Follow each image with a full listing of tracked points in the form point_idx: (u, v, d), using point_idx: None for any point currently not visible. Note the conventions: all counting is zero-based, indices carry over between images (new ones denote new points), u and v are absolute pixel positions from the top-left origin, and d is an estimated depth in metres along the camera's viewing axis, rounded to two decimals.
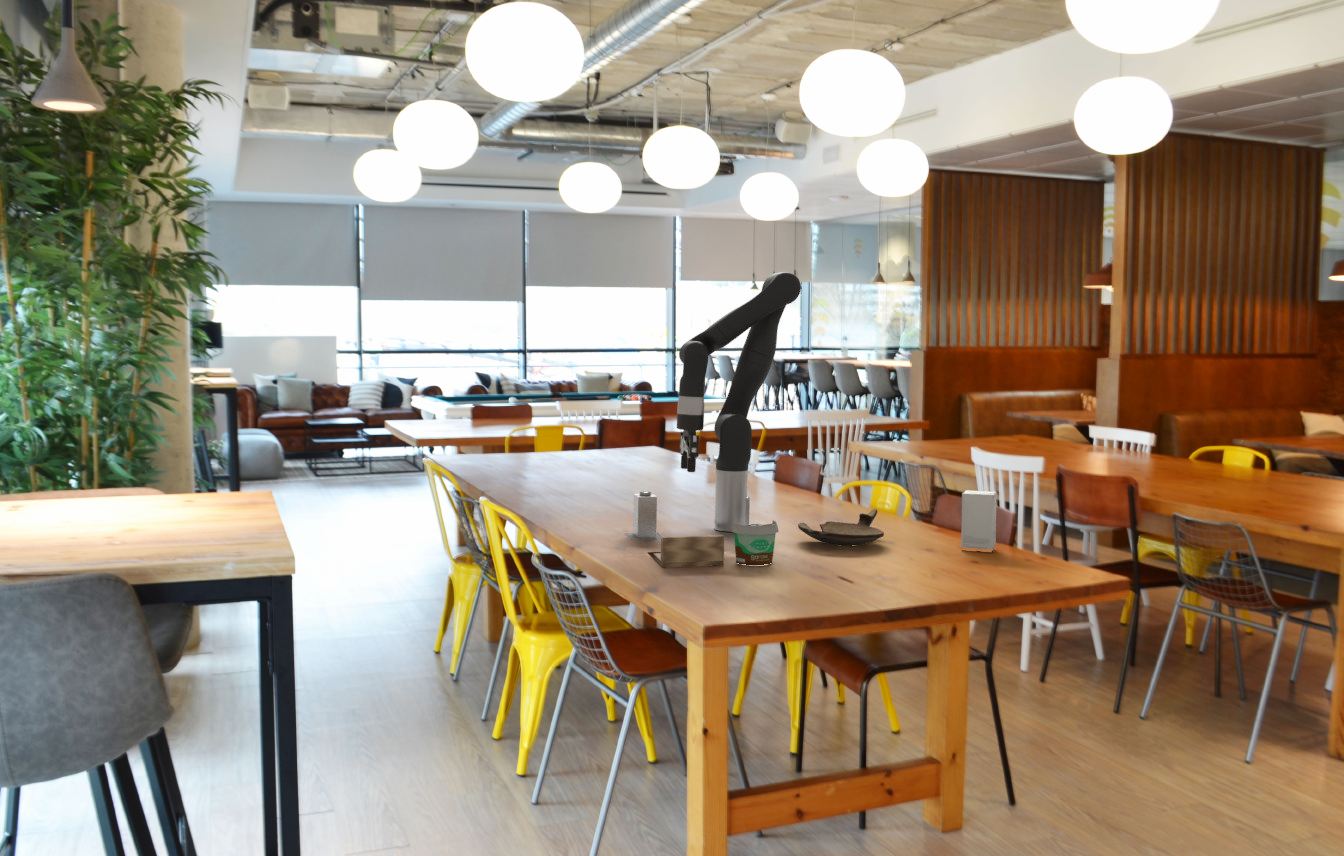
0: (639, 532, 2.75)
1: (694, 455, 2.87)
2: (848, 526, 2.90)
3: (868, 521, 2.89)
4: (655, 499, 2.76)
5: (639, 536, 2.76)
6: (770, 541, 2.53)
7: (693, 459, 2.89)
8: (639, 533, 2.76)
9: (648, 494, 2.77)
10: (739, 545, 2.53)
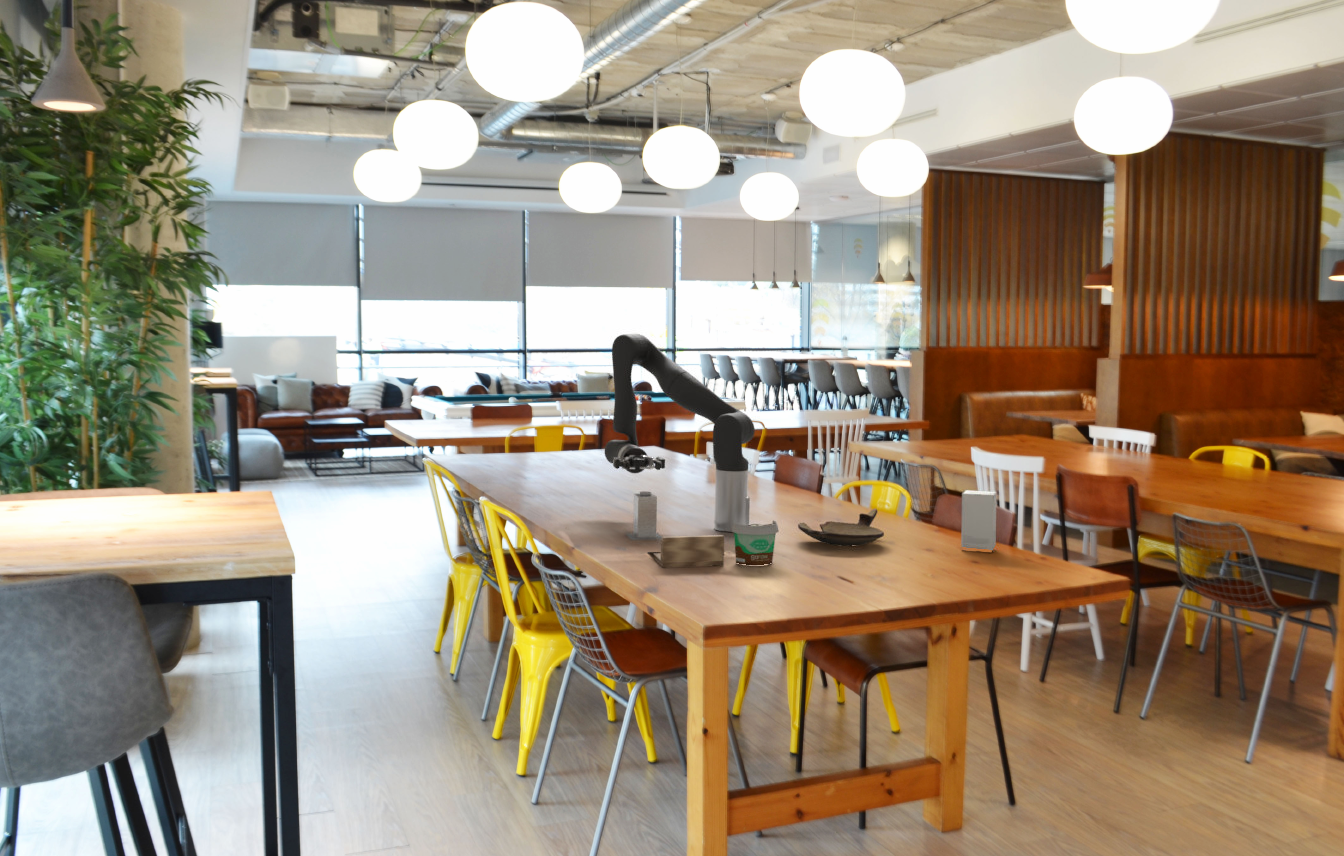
0: (639, 532, 2.75)
1: (615, 463, 2.91)
2: (848, 526, 2.90)
3: (868, 521, 2.89)
4: (655, 499, 2.76)
5: (639, 536, 2.76)
6: (770, 541, 2.53)
7: (622, 463, 2.90)
8: (639, 533, 2.76)
9: (648, 494, 2.77)
10: (739, 545, 2.53)
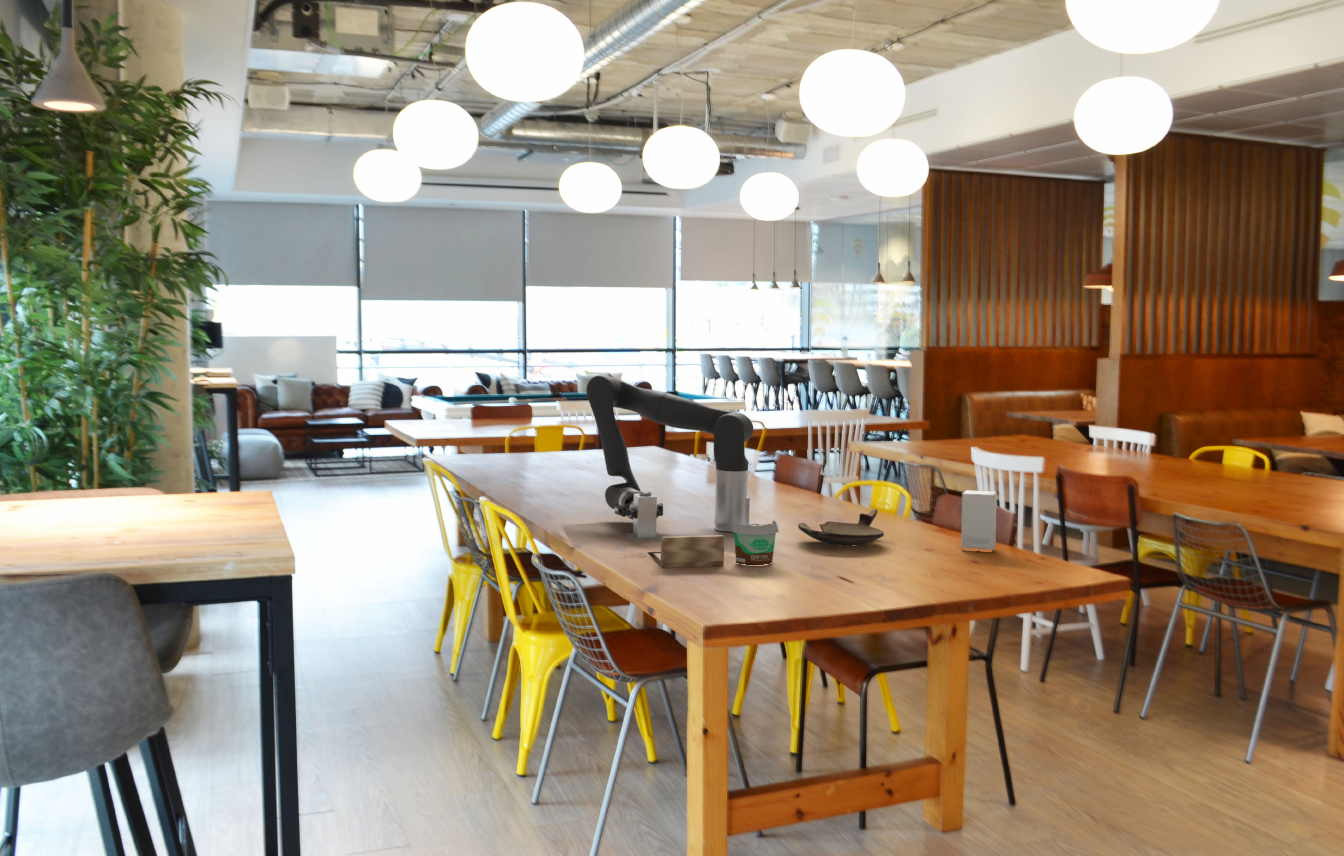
0: (639, 532, 2.75)
1: (622, 511, 2.80)
2: (848, 526, 2.90)
3: (868, 521, 2.89)
4: (655, 499, 2.76)
5: (639, 536, 2.76)
6: (770, 541, 2.53)
7: (629, 511, 2.79)
8: (639, 533, 2.76)
9: (648, 494, 2.77)
10: (739, 545, 2.53)
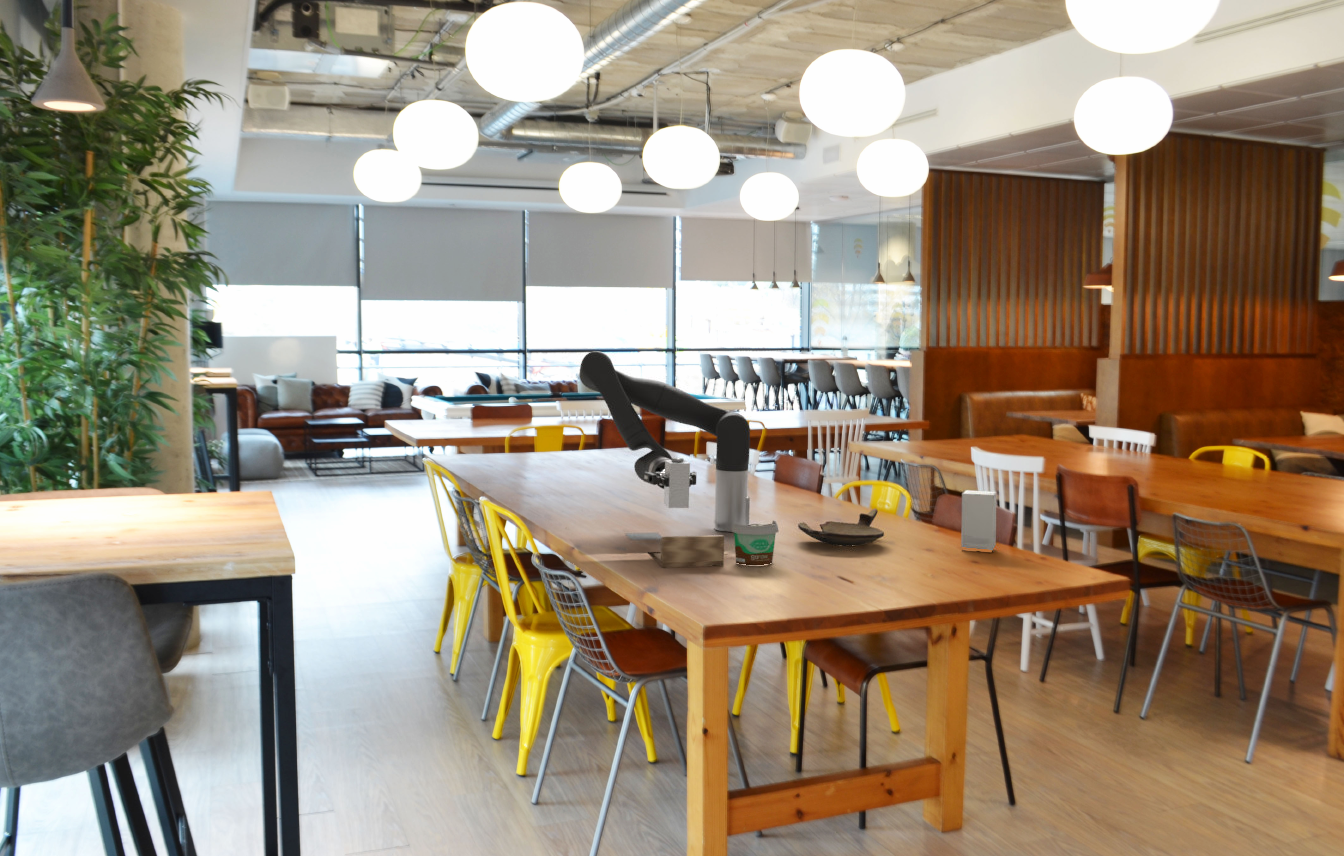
0: (670, 501, 2.56)
1: (652, 479, 2.61)
2: (848, 526, 2.90)
3: (868, 521, 2.89)
4: (688, 466, 2.56)
5: (670, 505, 2.56)
6: (770, 541, 2.53)
7: (660, 479, 2.60)
8: (670, 502, 2.56)
9: (680, 460, 2.57)
10: (739, 545, 2.53)
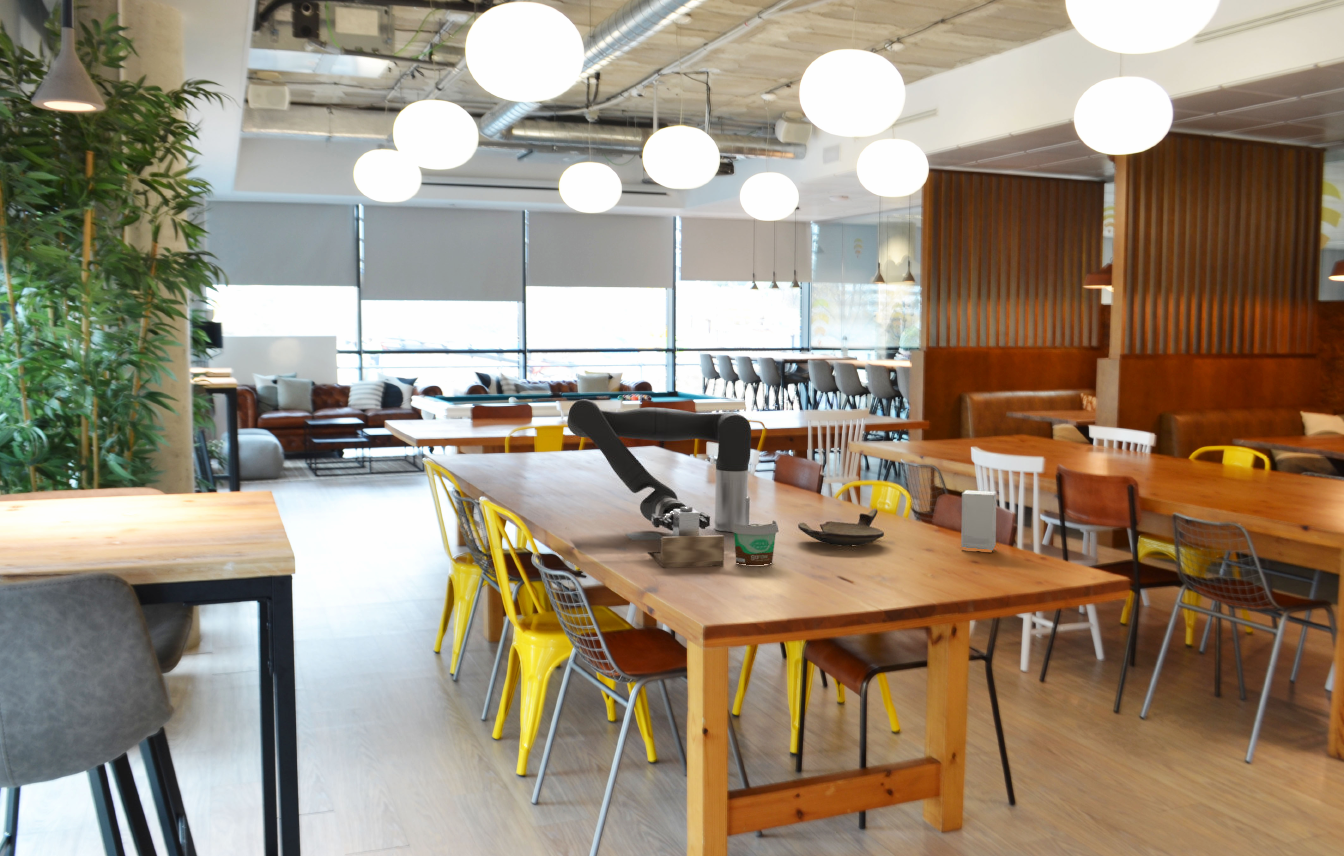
0: None
1: (655, 521, 2.59)
2: (848, 526, 2.90)
3: (868, 521, 2.89)
4: (697, 515, 2.54)
5: None
6: (770, 541, 2.53)
7: (662, 522, 2.58)
8: None
9: (689, 510, 2.55)
10: (739, 545, 2.53)
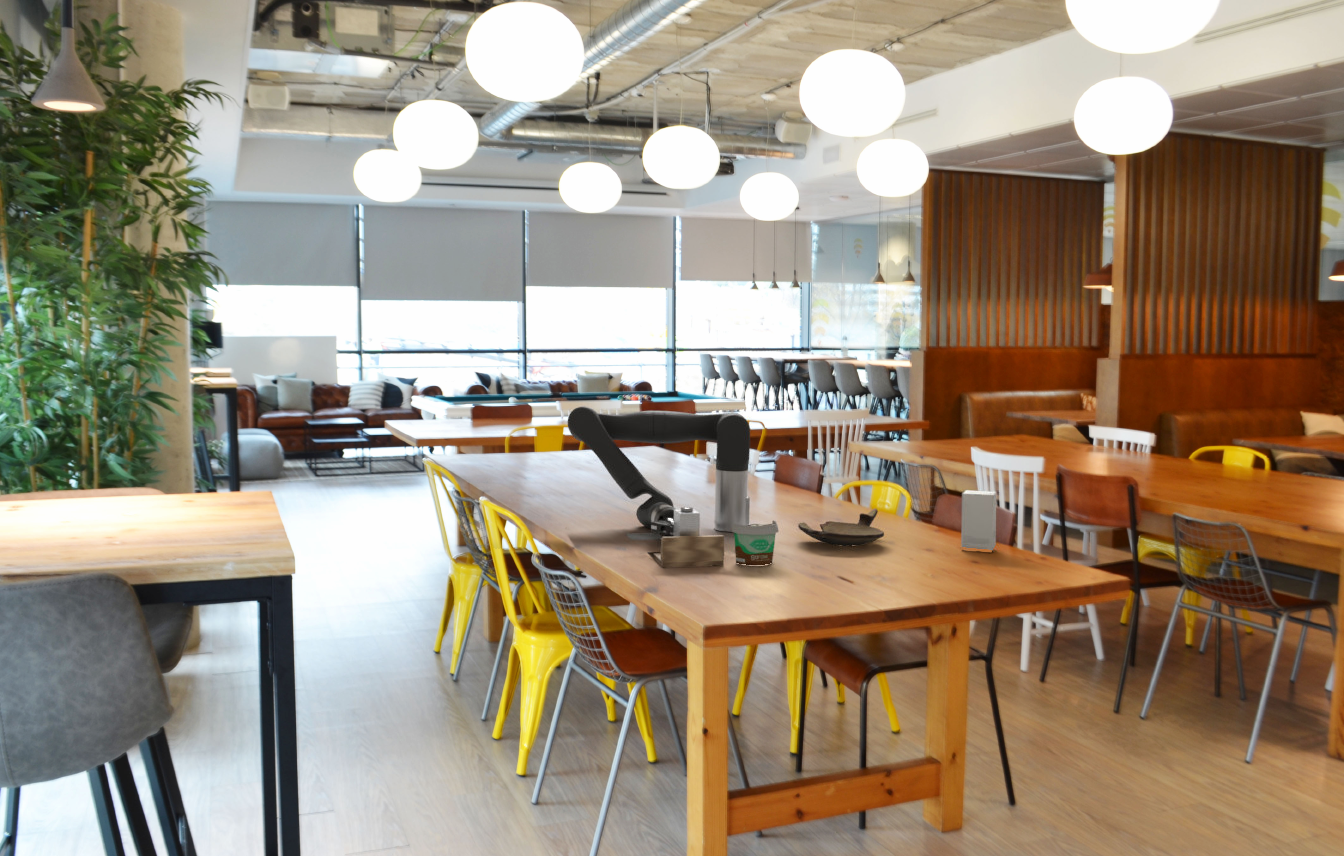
0: None
1: (666, 529, 2.63)
2: (848, 526, 2.90)
3: (868, 521, 2.89)
4: (698, 515, 2.54)
5: None
6: (770, 541, 2.53)
7: (673, 529, 2.63)
8: None
9: (690, 510, 2.55)
10: (739, 545, 2.53)
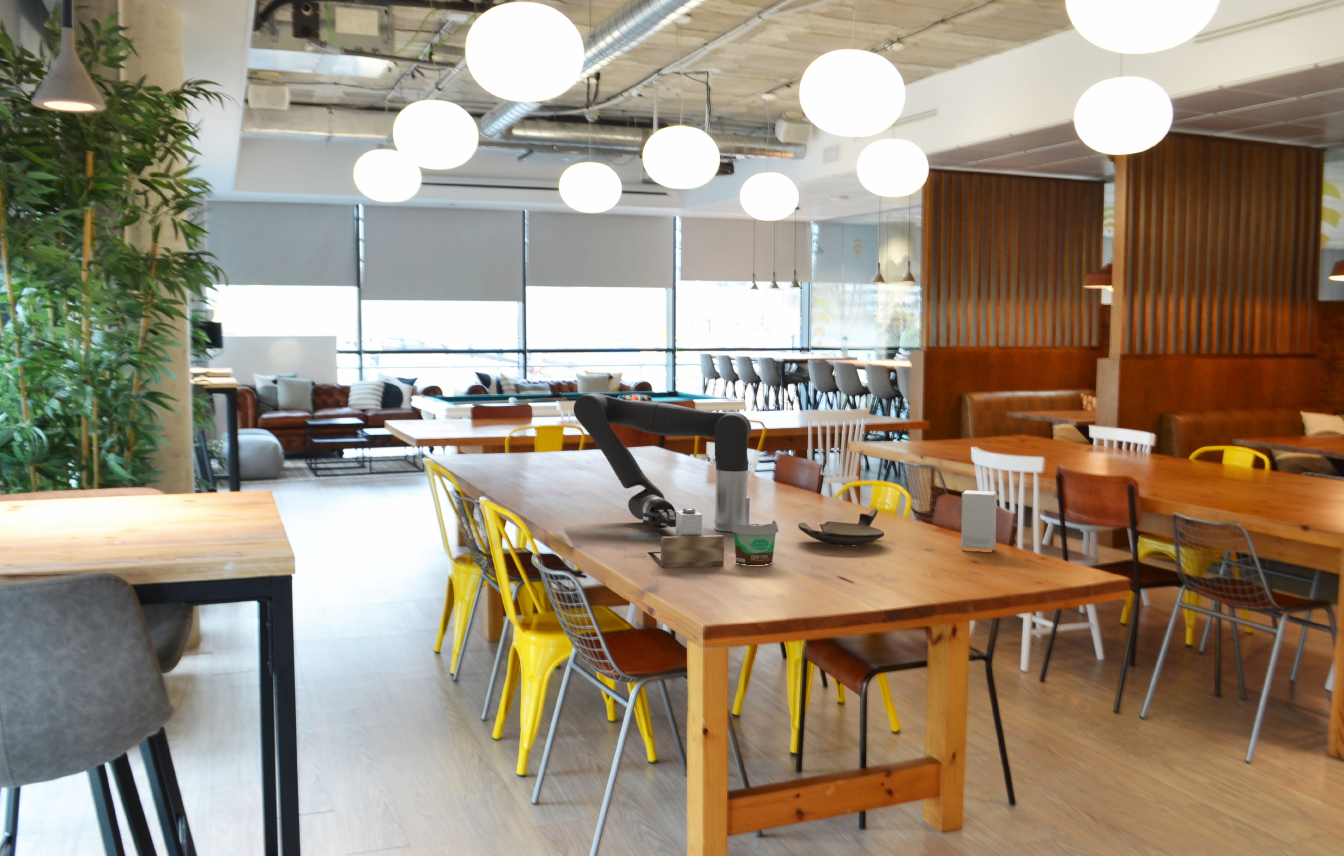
0: None
1: (657, 519, 2.75)
2: (848, 526, 2.90)
3: (868, 521, 2.89)
4: (700, 517, 2.52)
5: None
6: (770, 541, 2.53)
7: (664, 520, 2.74)
8: None
9: (692, 511, 2.53)
10: (739, 545, 2.53)
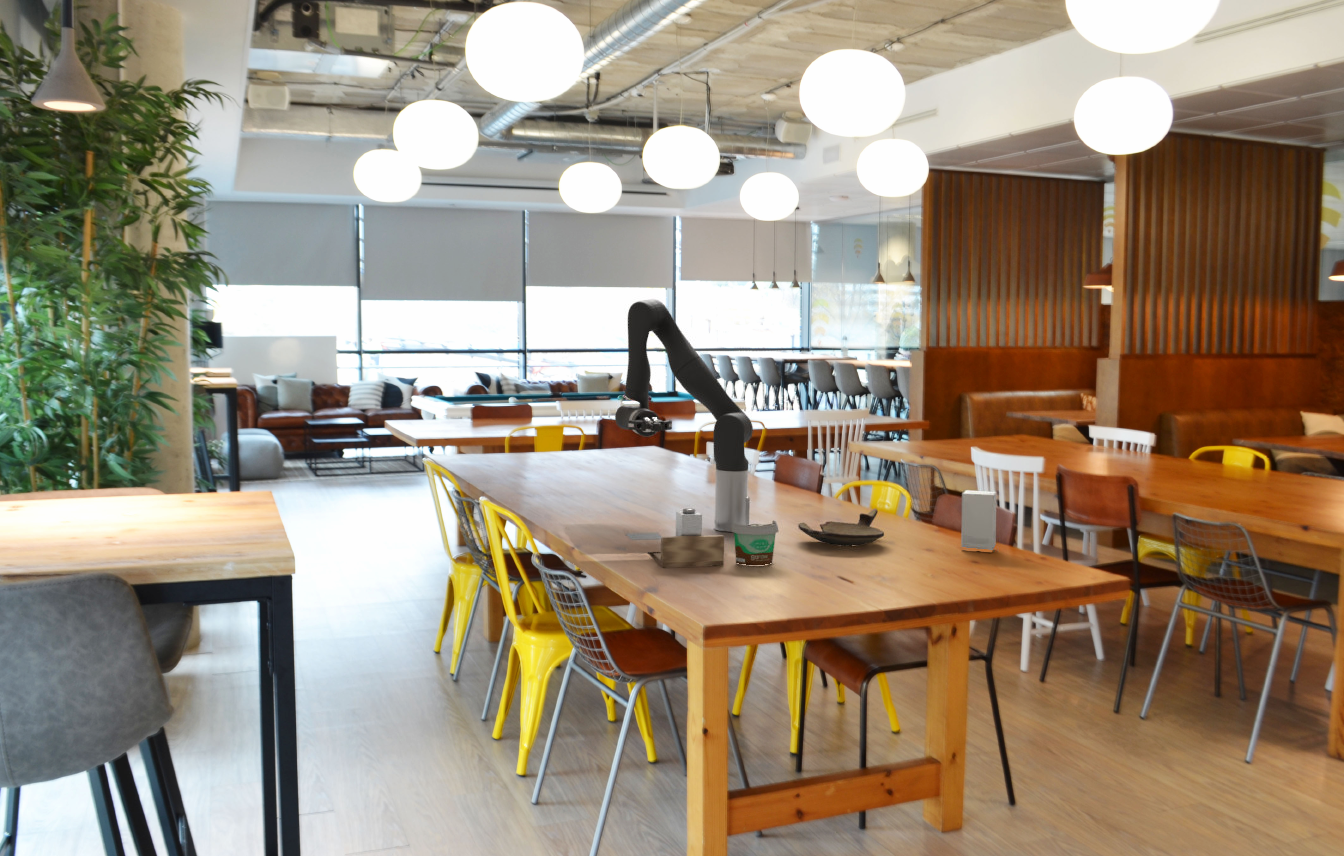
0: None
1: (642, 425, 2.86)
2: (848, 526, 2.90)
3: (868, 521, 2.89)
4: (700, 517, 2.52)
5: None
6: (770, 541, 2.53)
7: (649, 425, 2.85)
8: None
9: (692, 511, 2.53)
10: (739, 545, 2.53)
